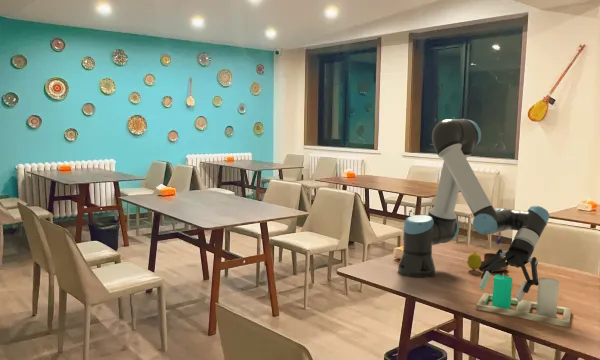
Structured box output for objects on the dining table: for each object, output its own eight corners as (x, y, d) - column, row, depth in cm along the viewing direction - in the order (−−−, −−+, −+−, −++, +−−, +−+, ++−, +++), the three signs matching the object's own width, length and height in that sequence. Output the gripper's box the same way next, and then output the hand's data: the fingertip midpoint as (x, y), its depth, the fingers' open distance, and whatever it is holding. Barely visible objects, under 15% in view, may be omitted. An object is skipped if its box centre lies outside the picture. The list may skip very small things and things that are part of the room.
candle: (512, 310, 171) (514, 276, 170) (493, 309, 172) (495, 275, 171) (508, 304, 177) (510, 271, 176) (490, 302, 178) (492, 269, 177)
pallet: (476, 309, 172) (476, 304, 172) (484, 296, 184) (484, 292, 184) (568, 327, 158) (569, 322, 158) (570, 312, 170) (571, 308, 170)
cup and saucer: (509, 268, 220) (510, 254, 219) (504, 275, 210) (505, 261, 209) (481, 263, 226) (482, 250, 226) (474, 270, 216) (475, 256, 216)
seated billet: (535, 316, 167) (537, 281, 165) (537, 310, 172) (539, 276, 170) (555, 320, 164) (558, 284, 162) (556, 314, 169) (559, 279, 167)
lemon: (474, 273, 212) (475, 254, 211) (464, 269, 217) (465, 251, 216) (483, 271, 215) (484, 253, 214) (473, 267, 219) (474, 249, 218)
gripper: (562, 258, 173) (538, 310, 165) (494, 243, 192) (470, 289, 184) (556, 245, 169) (531, 298, 161) (488, 231, 188) (462, 278, 180)
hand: (498, 293), depth 173 cm, fingers open, 13 cm apart
